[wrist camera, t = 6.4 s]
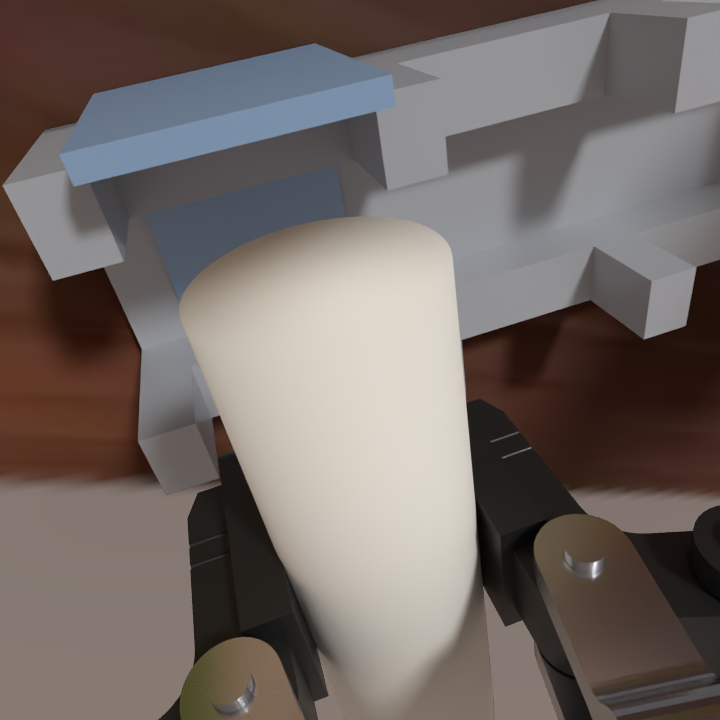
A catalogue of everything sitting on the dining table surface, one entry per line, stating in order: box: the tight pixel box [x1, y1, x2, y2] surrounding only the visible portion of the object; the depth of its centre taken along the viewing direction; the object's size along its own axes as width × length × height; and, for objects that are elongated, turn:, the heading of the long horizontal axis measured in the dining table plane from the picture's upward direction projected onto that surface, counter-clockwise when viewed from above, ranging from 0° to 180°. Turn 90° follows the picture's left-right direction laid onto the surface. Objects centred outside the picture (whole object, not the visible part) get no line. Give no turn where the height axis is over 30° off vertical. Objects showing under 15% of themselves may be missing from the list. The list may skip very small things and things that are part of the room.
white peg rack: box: [3, 0, 720, 495], centre depth 18 cm, size 10×26×7 cm, turn 100°
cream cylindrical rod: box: [179, 216, 494, 720], centre depth 9 cm, size 10×3×3 cm, turn 10°
